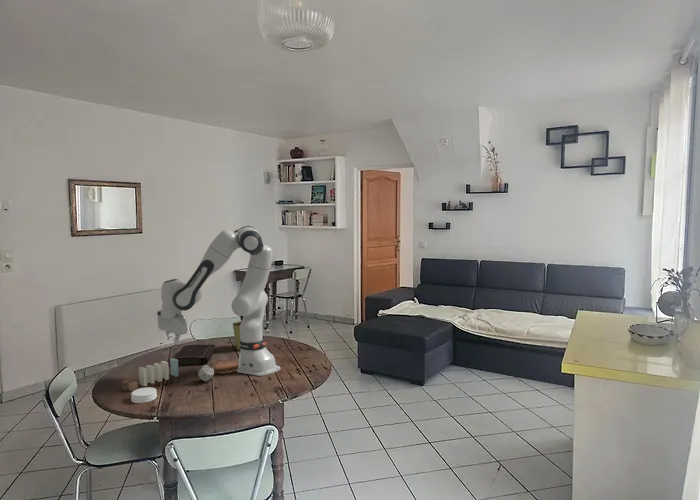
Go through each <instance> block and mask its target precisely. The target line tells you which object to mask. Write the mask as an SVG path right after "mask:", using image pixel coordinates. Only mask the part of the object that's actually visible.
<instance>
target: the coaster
mask: <svg viewBox="0 0 700 500" xmlns="http://www.w3.org/2000/svg"><path fill="white" fill-rule="evenodd" d="M157 393H158V392H157V388H155V387H151V386H149V387H148V386H145V387H140V388H138V389H137V390H134V391H132V392H130V400H131V402H132V403H134V404H145V403H148V402H152V401H154V400H156V399H157V397H158V395H157Z"/></svg>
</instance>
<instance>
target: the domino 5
mask: <svg viewBox="0 0 700 500" xmlns="http://www.w3.org/2000/svg"><path fill="white" fill-rule="evenodd" d="M169 365H170V375H171V376H172V377H175V378H176V377H179V373H180V372H179V366H178V360H177V359H174V358H173V357H172V358H170V362H169Z"/></svg>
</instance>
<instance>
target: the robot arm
mask: <svg viewBox="0 0 700 500" xmlns="http://www.w3.org/2000/svg"><path fill="white" fill-rule="evenodd" d="M240 248H241V249H242V251H244V252H246V253H248V254H249V260H248V265H247V269H246V273H245V275H244V279H243V282H242V284H241V285H240V288H239V289H238V291H237V294H236V296H235V297H234V298H233V300H232V302H231V309H232V311H233V313H234V314H235V315H237V316H239V317H240V316H243V320H242V322H241V324H240V343H239V345H240V348H241V350H239V355H238V367H237V369H236V372H237V373H241V374H245V375H246V374H247V375H252V376H259V377H263V376H268V375H271V374H274V373H277V372H279V371H280V370H281V369H282V368H281V366H279V365H277V364H276V359H275V358H276V357H275V356H274V355H273V354H272V353H271V352H270V351H269V349H267V347H266V345H267V342H266V341H265V340H264V338H263V336H264V335H263V323H264V321H263V320H264V318H265V317H264V316H265V311H266V306H267V304H268V302H269V296H268V294H267V293H266V292H265V291H264V288H265V287H266V285H267V283H268V279H269V275H270V271H271V268H272V263H273V254H274V253H273V248H272V247H271V246H269V245H267V244H264V243H263V238H262V236H261V235H260V232H259V231H258V230H257V228H255V227H253V226H250V225H245V226H241V227H240V228H239V229H236V230H234V231H232V230H229V229H223V230H221V232H219V234H217V235H216V237H214V239H213V240H212V241H211V242H210V245H209V246H208V248H207V249H206V251H205V253H203V256H202V259H201V261H200V263H199V264H198V266H197V268H196V270H195V271H194V273H193V274H192V275H191V276H190V278H189V280H187V282H186V283H185V282H183V281H181V280H180V279H177V278H172V279H167V280H165V281H163V283H162V284H161V293H160V294H161V302H162V305H161V309H160V310H158V311H156V315H157V327H158V329H159V330H161V331H165V336H166V338H167V341H174V343H179V342H180V337H181V335H186V334H187V333H188V322H187V319H186V318H185V316H184V315H183V313H182V311H189V310H190V309H192V308H193V307H194V306H195V305H196V304H198V302H200V300H201V298H202V291H201V288H202V286H203V285H204V283H205V282H206V281H207V279H208V278H210V276H211V275H213V274H214V273H216V272H217V271H219V270H220V269H221V268H222V267H223V266H224V265H225V264H226V263H227V262H228V261H229V259H230V258H231V256H232V255H233V253H234V252H235V251H236V250H237V249H240ZM172 334H174V338H173V336H172ZM238 368H239V369H238Z"/></svg>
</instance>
